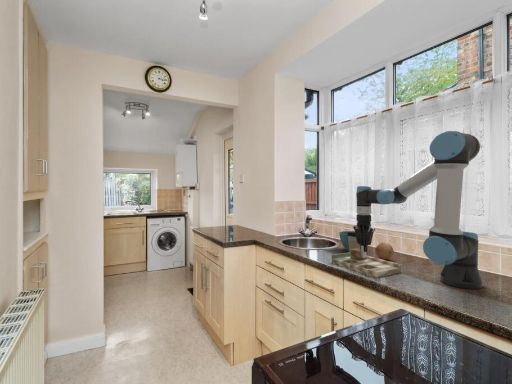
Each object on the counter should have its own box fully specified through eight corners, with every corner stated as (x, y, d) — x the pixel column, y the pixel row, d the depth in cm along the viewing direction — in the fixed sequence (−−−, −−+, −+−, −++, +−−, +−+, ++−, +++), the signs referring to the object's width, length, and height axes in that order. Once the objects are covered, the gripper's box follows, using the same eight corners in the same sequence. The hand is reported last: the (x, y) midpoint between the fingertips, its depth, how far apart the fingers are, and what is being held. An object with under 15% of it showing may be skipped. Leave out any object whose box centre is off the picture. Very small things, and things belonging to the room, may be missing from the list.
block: (366, 259, 150) (366, 250, 150) (358, 260, 148) (359, 251, 148) (357, 257, 156) (357, 248, 156) (350, 258, 153) (350, 249, 153)
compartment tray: (400, 272, 135) (400, 263, 135) (376, 277, 127) (376, 268, 127) (354, 259, 161) (354, 251, 161) (331, 262, 152) (331, 254, 152)
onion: (385, 262, 154) (385, 244, 154) (371, 258, 163) (371, 241, 163) (397, 261, 157) (398, 243, 157) (383, 257, 167) (384, 240, 167)
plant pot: (333, 250, 183) (333, 232, 183) (349, 247, 194) (349, 230, 194) (358, 255, 169) (358, 236, 169) (373, 252, 180) (373, 233, 180)
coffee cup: (364, 259, 161) (364, 233, 161) (347, 258, 163) (348, 233, 163) (361, 255, 171) (361, 231, 170) (345, 254, 172) (346, 230, 172)
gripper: (349, 213, 152) (349, 255, 152) (368, 215, 141) (368, 261, 141) (359, 213, 156) (359, 254, 156) (378, 214, 145) (378, 259, 145)
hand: (363, 257), depth 149 cm, fingers closed
